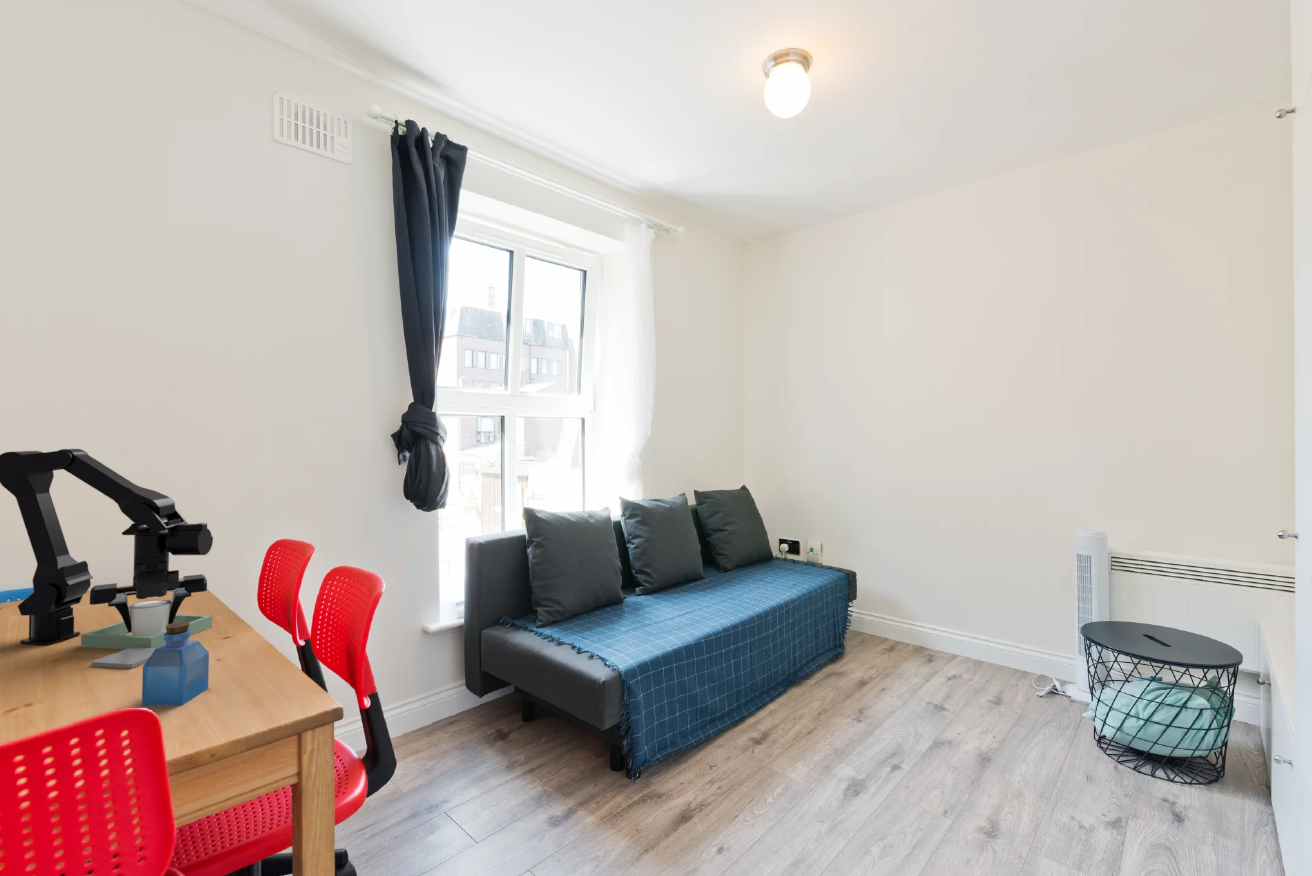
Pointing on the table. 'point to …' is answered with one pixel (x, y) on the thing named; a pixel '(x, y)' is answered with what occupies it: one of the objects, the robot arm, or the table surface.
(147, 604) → the white cup
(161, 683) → the perfume bottle
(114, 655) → the slate tile
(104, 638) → the green tray
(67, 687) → the table surface
